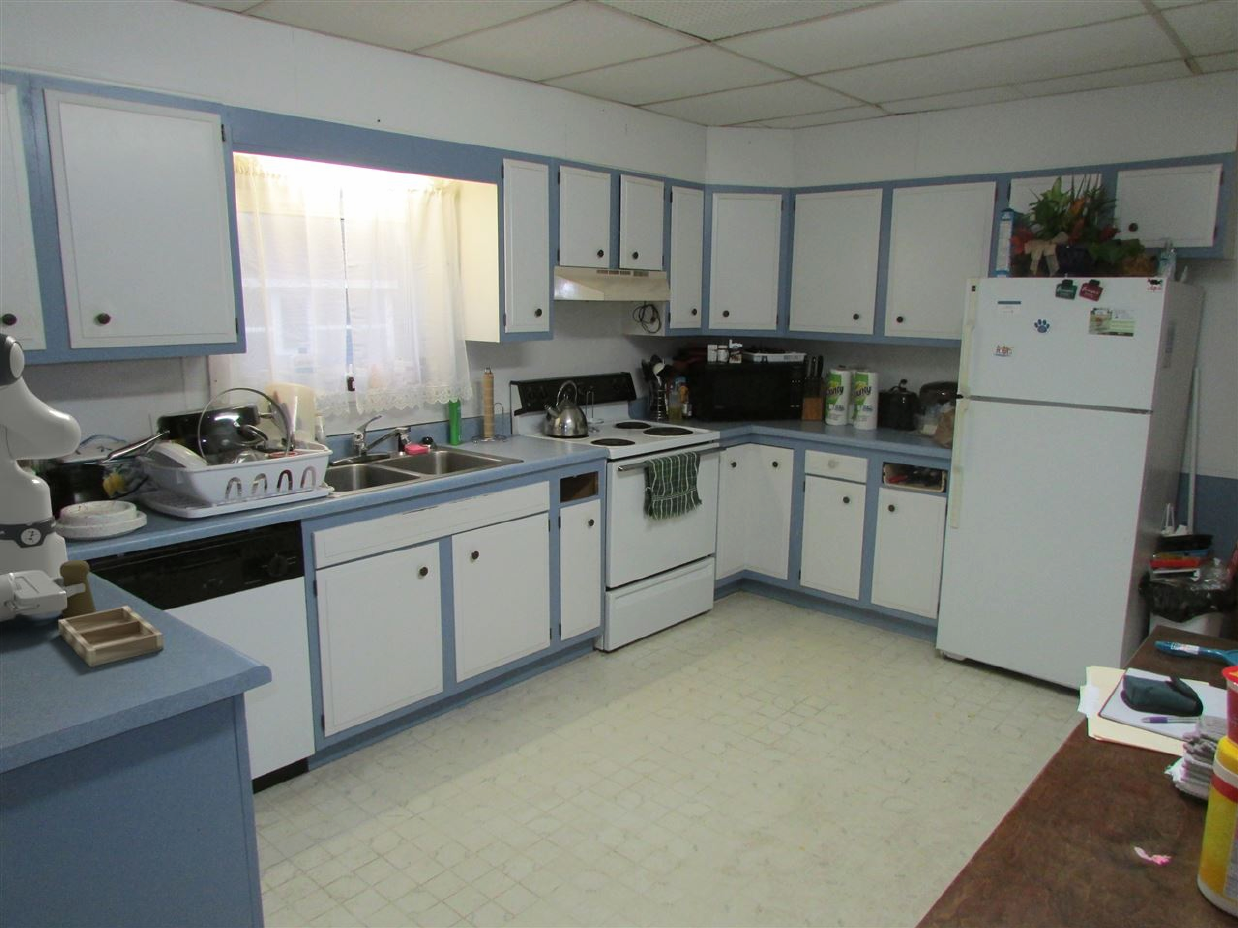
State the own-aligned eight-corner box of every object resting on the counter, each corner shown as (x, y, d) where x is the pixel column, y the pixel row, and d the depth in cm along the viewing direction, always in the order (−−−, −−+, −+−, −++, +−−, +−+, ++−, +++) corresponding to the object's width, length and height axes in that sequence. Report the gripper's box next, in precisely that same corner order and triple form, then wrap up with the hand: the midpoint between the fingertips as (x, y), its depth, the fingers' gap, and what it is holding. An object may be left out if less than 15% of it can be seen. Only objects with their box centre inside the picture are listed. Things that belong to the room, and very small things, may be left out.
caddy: (59, 634, 164) (58, 619, 164) (128, 619, 173) (126, 605, 172) (90, 667, 150) (88, 651, 149) (163, 649, 158) (162, 633, 158)
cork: (58, 611, 176) (53, 560, 174) (91, 605, 180) (86, 555, 179) (65, 619, 172) (60, 567, 170) (99, 612, 176) (94, 561, 174)
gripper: (9, 596, 158) (93, 580, 168) (-13, 571, 172) (66, 558, 182) (13, 628, 159) (96, 610, 169) (-9, 601, 174) (69, 586, 183)
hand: (80, 583), depth 176 cm, fingers closed on cork, 4 cm apart
